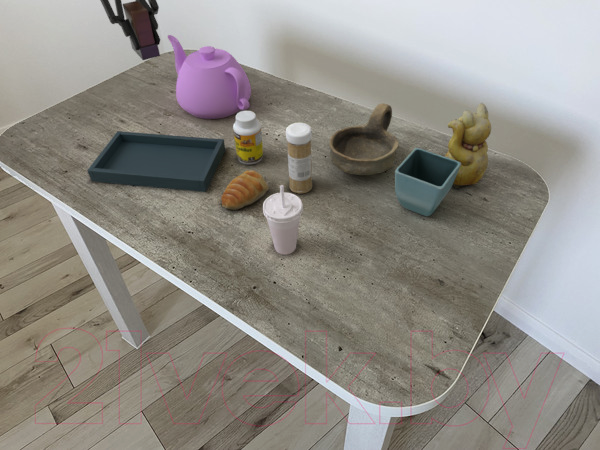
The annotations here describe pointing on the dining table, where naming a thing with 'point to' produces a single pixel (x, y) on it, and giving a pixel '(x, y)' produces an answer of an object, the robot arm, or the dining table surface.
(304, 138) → the spice jar
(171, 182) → the tray
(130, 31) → the robot arm
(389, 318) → the dining table surface
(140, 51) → the eraser
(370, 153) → the bowl
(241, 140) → the supplement bottle
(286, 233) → the smoothie
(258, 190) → the pastry
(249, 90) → the teapot
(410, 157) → the flower pot
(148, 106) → the dining table surface
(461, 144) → the decorative figurine
